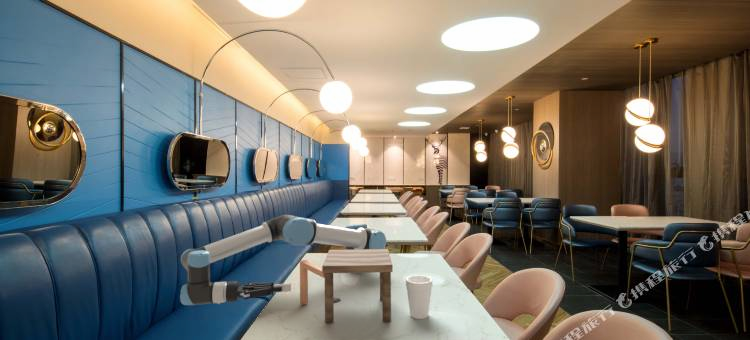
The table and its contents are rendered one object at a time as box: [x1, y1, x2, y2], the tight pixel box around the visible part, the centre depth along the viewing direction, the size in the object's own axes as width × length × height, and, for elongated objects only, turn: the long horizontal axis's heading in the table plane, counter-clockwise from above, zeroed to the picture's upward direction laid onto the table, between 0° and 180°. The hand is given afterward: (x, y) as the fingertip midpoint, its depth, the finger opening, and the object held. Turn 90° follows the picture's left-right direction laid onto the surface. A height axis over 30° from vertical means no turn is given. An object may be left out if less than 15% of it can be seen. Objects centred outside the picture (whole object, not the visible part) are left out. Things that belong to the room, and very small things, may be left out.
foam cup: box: [405, 274, 433, 320], centre depth 129 cm, size 10×9×13 cm
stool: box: [321, 248, 394, 325], centre depth 135 cm, size 24×24×20 cm
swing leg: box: [299, 259, 325, 305], centre depth 134 cm, size 20×3×16 cm, turn 37°
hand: (290, 287), depth 140 cm, fingers closed
